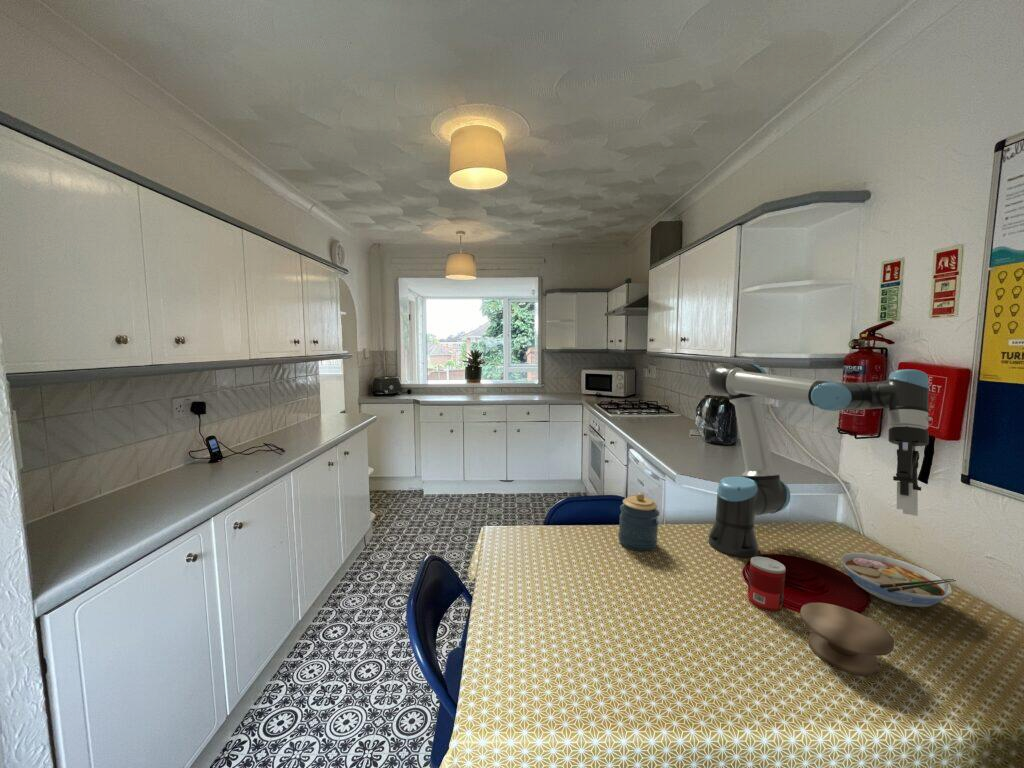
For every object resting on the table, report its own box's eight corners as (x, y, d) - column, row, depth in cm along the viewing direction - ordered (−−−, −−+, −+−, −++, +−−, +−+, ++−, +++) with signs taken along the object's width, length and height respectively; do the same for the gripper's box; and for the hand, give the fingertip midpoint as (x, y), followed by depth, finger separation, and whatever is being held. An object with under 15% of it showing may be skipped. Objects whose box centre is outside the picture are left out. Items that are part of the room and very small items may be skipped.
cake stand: (795, 657, 90) (798, 627, 90) (800, 621, 103) (802, 594, 102) (894, 697, 80) (898, 663, 80) (886, 651, 93) (889, 622, 92)
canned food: (787, 614, 105) (791, 573, 105) (753, 609, 107) (756, 568, 106) (774, 597, 113) (778, 558, 112) (743, 592, 115) (746, 554, 114)
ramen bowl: (880, 572, 129) (883, 546, 128) (976, 619, 106) (980, 588, 106) (814, 578, 123) (817, 552, 123) (901, 629, 101) (905, 597, 100)
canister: (625, 531, 152) (628, 484, 150) (662, 542, 144) (665, 492, 143) (612, 544, 141) (615, 493, 140) (650, 556, 133) (653, 503, 132)
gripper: (925, 418, 96) (924, 511, 92) (932, 439, 112) (932, 519, 108) (882, 416, 102) (880, 504, 98) (894, 437, 118) (893, 513, 113)
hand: (907, 512), depth 103 cm, fingers open, 13 cm apart
